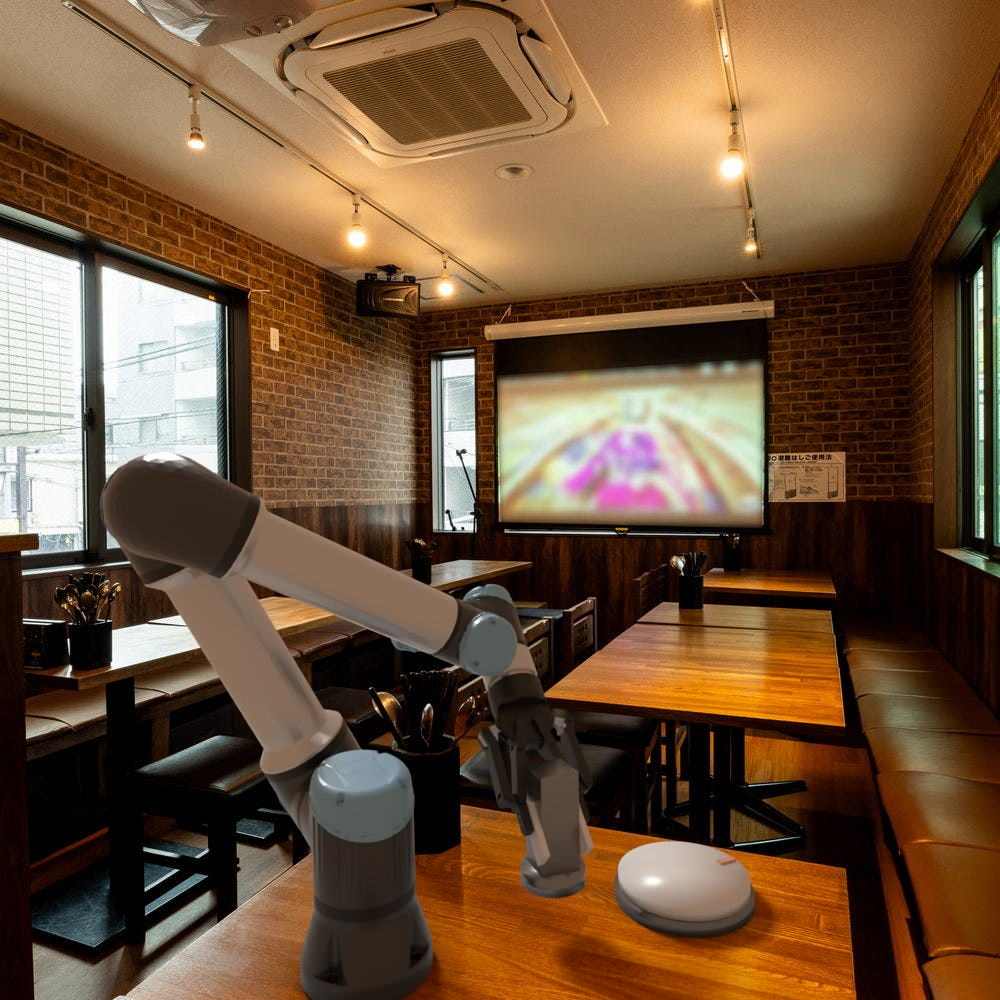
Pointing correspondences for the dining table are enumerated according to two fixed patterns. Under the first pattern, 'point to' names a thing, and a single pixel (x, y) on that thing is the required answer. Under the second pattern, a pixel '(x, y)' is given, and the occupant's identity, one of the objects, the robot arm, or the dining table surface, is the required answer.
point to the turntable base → (686, 927)
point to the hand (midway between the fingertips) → (565, 856)
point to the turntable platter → (684, 881)
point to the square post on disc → (554, 830)
